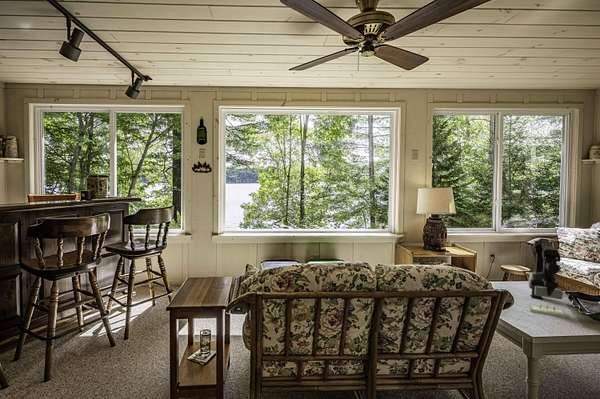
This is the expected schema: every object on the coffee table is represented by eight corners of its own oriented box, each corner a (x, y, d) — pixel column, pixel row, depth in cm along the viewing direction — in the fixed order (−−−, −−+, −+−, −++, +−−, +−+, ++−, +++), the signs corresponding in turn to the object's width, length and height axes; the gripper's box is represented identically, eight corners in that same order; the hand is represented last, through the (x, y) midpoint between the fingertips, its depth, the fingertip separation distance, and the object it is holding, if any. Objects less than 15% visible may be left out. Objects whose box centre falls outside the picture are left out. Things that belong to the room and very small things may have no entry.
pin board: (528, 306, 207) (528, 300, 207) (563, 312, 198) (564, 305, 198) (530, 311, 199) (530, 304, 199) (567, 318, 190) (567, 310, 190)
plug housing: (534, 293, 203) (534, 285, 203) (560, 297, 197) (560, 288, 197) (535, 295, 199) (536, 287, 199) (562, 299, 193) (562, 291, 193)
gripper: (531, 264, 209) (529, 288, 210) (535, 270, 193) (534, 296, 194) (552, 266, 204) (551, 291, 205) (559, 273, 188) (557, 299, 188)
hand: (547, 294), depth 198 cm, fingers closed on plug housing, 5 cm apart
